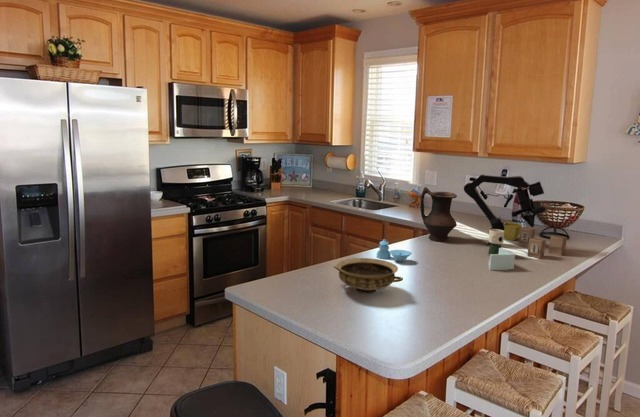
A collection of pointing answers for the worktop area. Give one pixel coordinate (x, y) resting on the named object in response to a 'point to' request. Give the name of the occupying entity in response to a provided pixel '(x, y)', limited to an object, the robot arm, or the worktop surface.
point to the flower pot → (511, 230)
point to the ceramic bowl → (367, 274)
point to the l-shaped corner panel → (501, 260)
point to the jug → (438, 215)
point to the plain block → (557, 245)
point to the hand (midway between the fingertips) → (532, 226)
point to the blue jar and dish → (391, 252)
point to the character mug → (495, 240)
